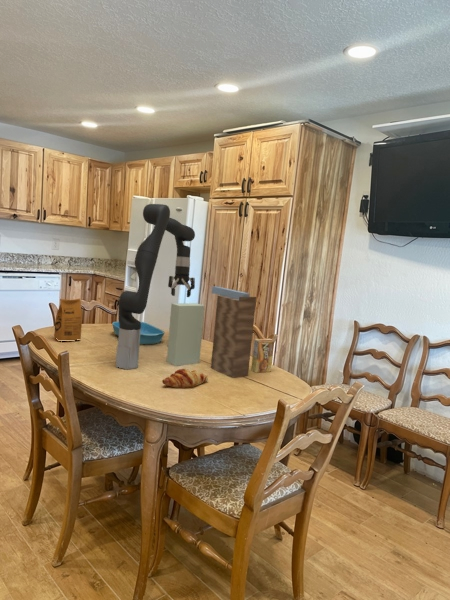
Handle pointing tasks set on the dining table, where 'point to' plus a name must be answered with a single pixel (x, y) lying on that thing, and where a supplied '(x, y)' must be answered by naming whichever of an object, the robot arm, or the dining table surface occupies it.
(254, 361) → the candy box
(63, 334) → the coffee package
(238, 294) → the rail
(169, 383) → the croissant
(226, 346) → the post
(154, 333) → the casserole dish
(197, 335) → the step
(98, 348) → the dining table surface
